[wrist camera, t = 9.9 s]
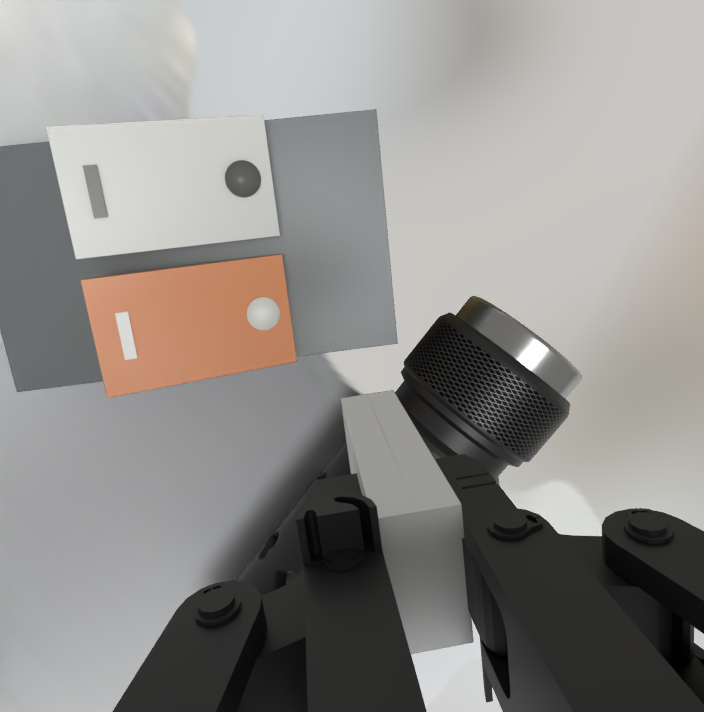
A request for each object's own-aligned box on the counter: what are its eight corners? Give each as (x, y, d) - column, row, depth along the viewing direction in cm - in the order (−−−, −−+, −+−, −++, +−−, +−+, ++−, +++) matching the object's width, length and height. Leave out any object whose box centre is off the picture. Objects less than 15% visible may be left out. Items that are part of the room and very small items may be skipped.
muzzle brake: (205, 580, 41) (175, 695, 31) (442, 278, 37) (494, 297, 27) (308, 640, 43) (311, 766, 33) (542, 359, 39) (625, 404, 29)
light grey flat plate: (80, 258, 28) (75, 259, 26) (51, 131, 26) (44, 125, 25) (276, 235, 30) (280, 235, 29) (259, 119, 29) (264, 113, 28)
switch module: (-40, 381, 36) (-102, 410, 30) (-101, 172, 33) (-183, 161, 27) (384, 328, 38) (399, 346, 32) (365, 125, 34) (378, 106, 29)
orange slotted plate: (108, 392, 29) (107, 398, 28) (82, 278, 28) (80, 280, 26) (291, 357, 32) (297, 362, 31) (277, 253, 31) (282, 254, 29)
